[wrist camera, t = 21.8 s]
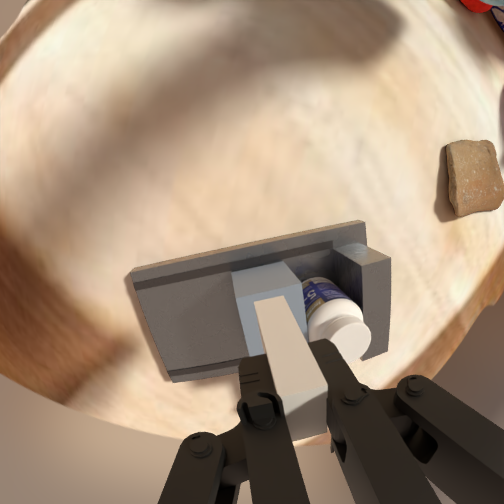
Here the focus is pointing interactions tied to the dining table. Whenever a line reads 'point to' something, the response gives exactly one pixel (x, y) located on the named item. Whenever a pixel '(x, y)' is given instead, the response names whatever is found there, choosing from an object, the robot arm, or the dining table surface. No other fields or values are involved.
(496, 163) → the stone
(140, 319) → the dining table surface
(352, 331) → the pill bottle
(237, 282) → the block
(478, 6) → the tomato
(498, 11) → the vase
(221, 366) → the vise
